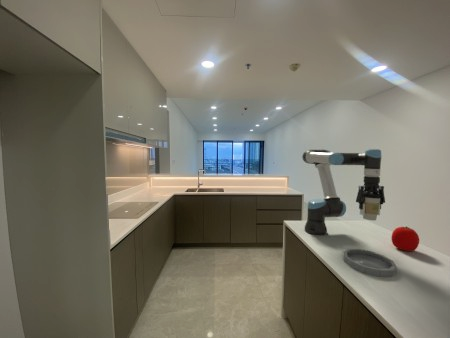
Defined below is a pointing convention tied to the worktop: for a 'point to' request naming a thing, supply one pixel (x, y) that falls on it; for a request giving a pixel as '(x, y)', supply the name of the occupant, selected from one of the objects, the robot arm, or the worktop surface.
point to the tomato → (405, 238)
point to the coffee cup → (371, 205)
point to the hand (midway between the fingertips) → (369, 214)
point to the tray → (369, 262)
